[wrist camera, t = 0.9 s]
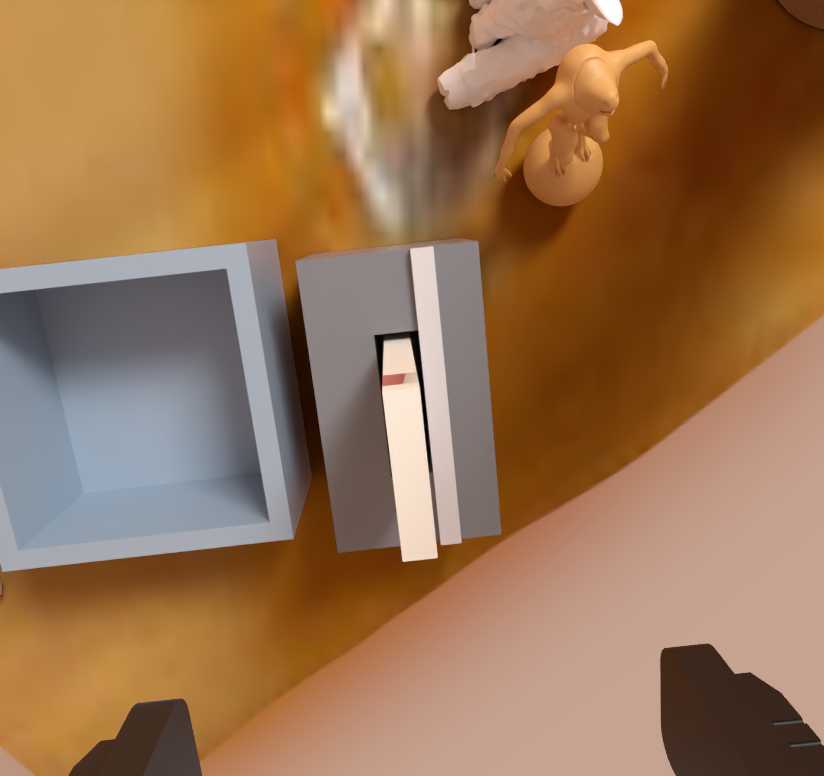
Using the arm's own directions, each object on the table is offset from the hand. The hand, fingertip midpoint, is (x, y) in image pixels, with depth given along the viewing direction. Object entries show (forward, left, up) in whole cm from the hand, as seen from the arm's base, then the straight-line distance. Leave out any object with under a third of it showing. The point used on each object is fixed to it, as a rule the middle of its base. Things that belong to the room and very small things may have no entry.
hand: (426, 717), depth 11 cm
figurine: (-9, -11, -28) cm, 32 cm away
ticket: (0, 0, -27) cm, 27 cm away
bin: (+13, -1, -28) cm, 31 cm away
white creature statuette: (-8, -18, -28) cm, 34 cm away
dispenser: (0, 0, -28) cm, 28 cm away
